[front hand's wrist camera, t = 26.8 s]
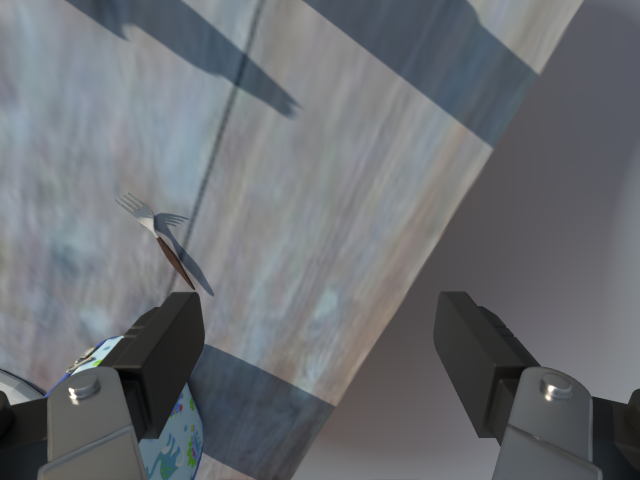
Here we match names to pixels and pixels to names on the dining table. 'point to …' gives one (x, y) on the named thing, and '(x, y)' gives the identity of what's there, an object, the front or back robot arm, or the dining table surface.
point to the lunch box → (177, 436)
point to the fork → (147, 219)
